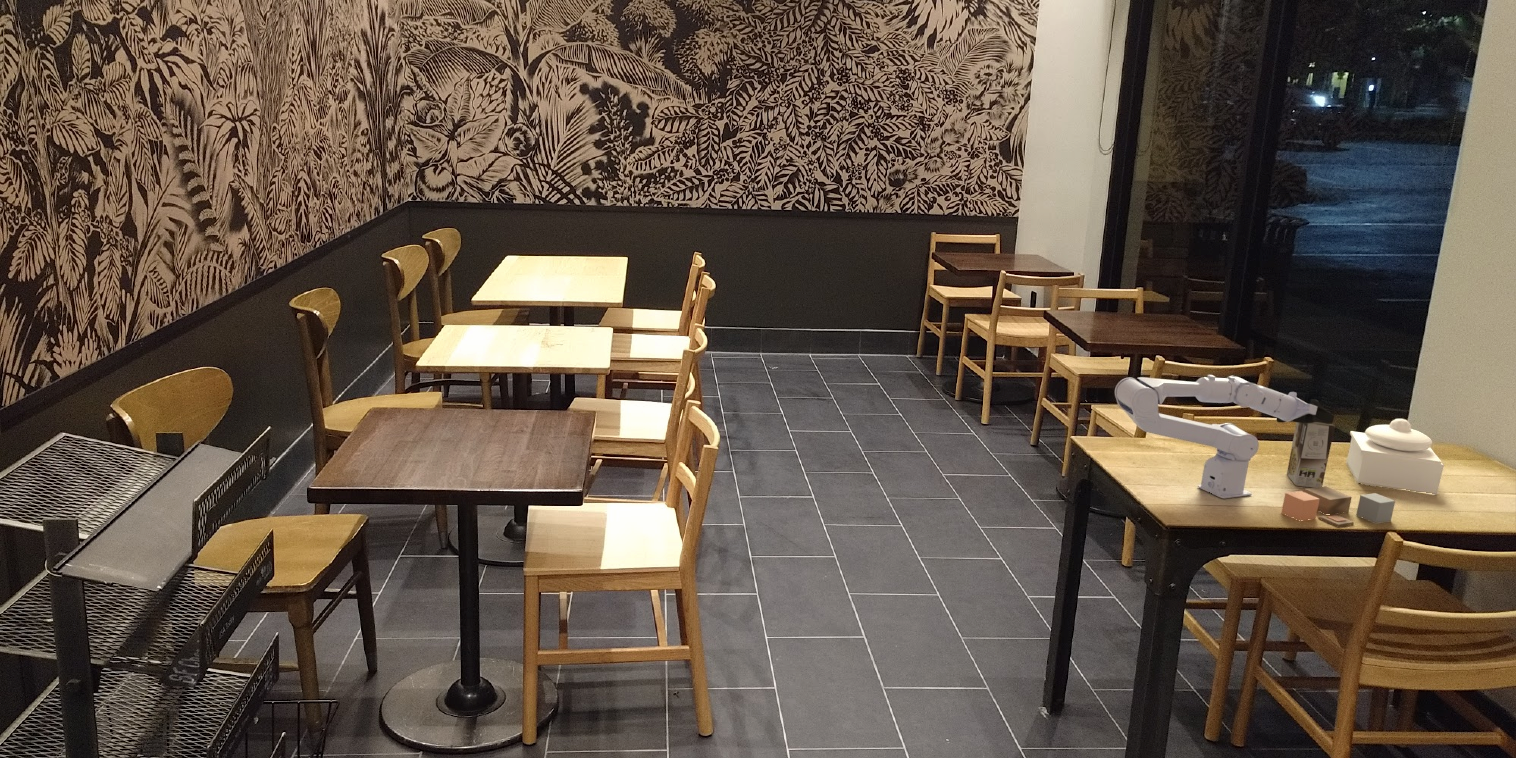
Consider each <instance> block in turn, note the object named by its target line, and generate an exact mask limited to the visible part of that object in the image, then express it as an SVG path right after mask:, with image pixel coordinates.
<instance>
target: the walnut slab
mask: <svg viewBox="0 0 1516 758" xmlns="http://www.w3.org/2000/svg"><path fill="white" fill-rule="evenodd" d="M1303 492H1305V493H1307V494H1310V495H1312V496H1314V497H1317V498H1319V499H1320V500H1319V505H1318V509H1317V512H1318V511H1321V512H1322V513H1321V512H1320V513H1321V514H1323V513H1324V514H1323V515H1325V514H1336V515H1338V514H1337V513H1340V514H1344V513H1343V512H1347V513H1349V512H1350V506H1351V503H1352V498H1353V496H1352V495H1351V496H1350V495H1348V494H1345V493H1343V492H1341V491H1338V490H1336V489H1333V488H1331V487H1329V486H1324V485H1323V486H1322V487H1316V488H1312V487H1307V488H1304V491H1303Z"/></svg>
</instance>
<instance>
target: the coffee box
mask: <svg viewBox="0 0 1516 758" xmlns="http://www.w3.org/2000/svg"><path fill="white" fill-rule="evenodd" d="M1295 423H1296V424H1295V429H1294V434H1293V439H1292V443H1291V449H1290V455H1289V459H1288V460H1289V461H1288V466H1287V470H1286V475H1287V477H1288V478H1289V479H1290V481H1292V483H1293V484H1294V485H1295V486H1299V487H1304V488H1305V487H1306V488H1316V487H1323V486H1324V485H1323V484H1324V481H1325V474H1326V471H1327V465H1328V461H1329V455H1330V452H1331V451H1330V450H1331V446H1332V442H1333V437H1334V432H1335V428H1336V425H1335V424H1334V423H1332V424H1325V423H1319V422H1314V423H1297V422H1295Z"/></svg>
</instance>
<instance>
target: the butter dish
mask: <svg viewBox="0 0 1516 758" xmlns="http://www.w3.org/2000/svg"><path fill="white" fill-rule="evenodd" d="M1349 435H1350V436H1351V438H1350V445H1349V448H1348V454H1347V457H1346V462H1345V464H1346V465H1347V468H1348V469H1349V470H1351V471H1350V472H1351V474H1353V475H1352V477H1353V478H1354V480H1355V482H1356V481H1357V482H1356V484H1357V483H1362V484H1361V485H1363V484H1365V485H1364V486H1369V485H1370V487H1371V486H1372V487H1376V486H1382V487H1388V488H1387V489H1389V488H1394V489H1393V490H1395V489H1406V490H1410V491H1416V492H1426V493H1432V494H1435V495H1436V496H1437V494H1438V492H1439V491H1438V490H1439V487H1440V483H1441V479H1442V474H1443V471H1444V466H1445V465H1444V464H1443V462H1442V460H1441V459H1440V458H1439V457H1438V454H1436V453H1435V452H1434V450H1433V449H1432V448H1431V447H1432V446H1433V441H1432V439H1431V438H1430V437H1429V436H1428V435H1426V434H1424V433H1423V432H1421V431H1419V430H1416V429H1413V428H1412V426H1411V423H1410V422H1409V420H1407V419H1405V418H1395V419H1392V421H1391V422H1390V423H1389V424H1375V425H1372V426H1369V427H1367V428H1366V429H1365V431H1364V432H1360V431H1353V430H1350V432H1349ZM1382 487H1381V488H1382Z"/></svg>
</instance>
